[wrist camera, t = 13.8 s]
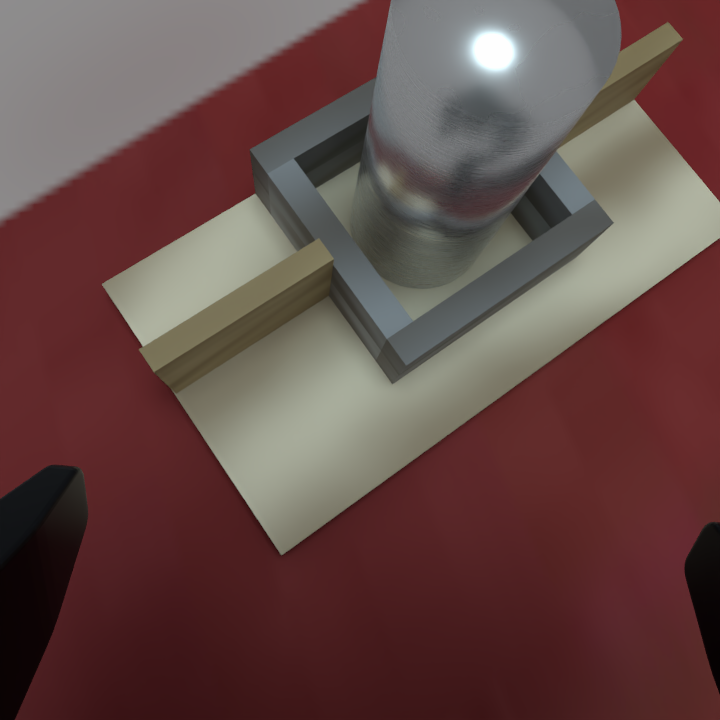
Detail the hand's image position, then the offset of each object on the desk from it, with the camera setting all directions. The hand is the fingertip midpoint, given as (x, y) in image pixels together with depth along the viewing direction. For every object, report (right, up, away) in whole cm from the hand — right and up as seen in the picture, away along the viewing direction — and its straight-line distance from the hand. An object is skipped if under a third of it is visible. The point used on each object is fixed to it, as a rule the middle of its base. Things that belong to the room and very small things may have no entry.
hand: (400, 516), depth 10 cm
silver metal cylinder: (+2, +7, +15) cm, 16 cm away
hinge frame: (+2, +6, +16) cm, 17 cm away
